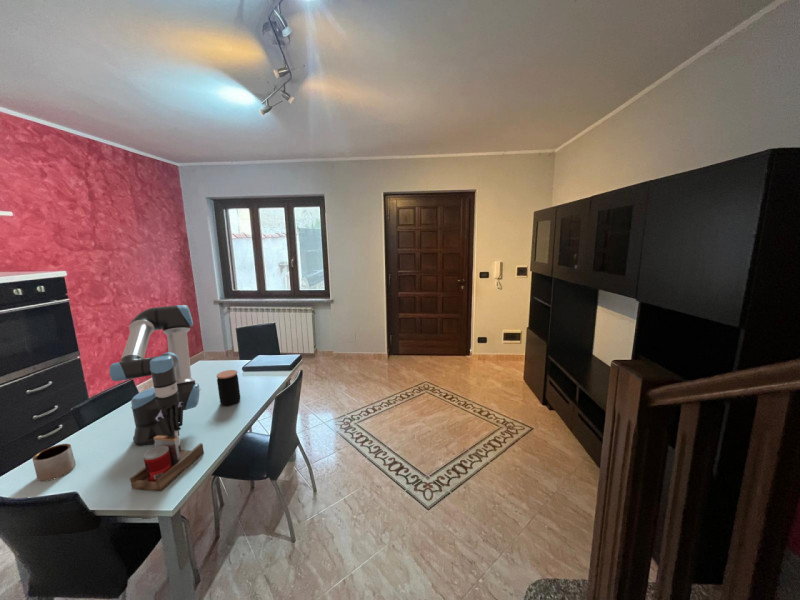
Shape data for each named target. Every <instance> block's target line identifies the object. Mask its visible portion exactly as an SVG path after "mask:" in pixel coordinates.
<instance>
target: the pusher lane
mask: <svg viewBox="0 0 800 600" xmlns="http://www.w3.org/2000/svg"><path fill="white" fill-rule="evenodd" d="M178 448H179V454H180V461H178V462H177V463H176V464H175V465H174V466H173V467H171V468H170V469H169V470H168V471H167V472H165V473H164V474H163V475H162V476H161V477H160V478H158V479H157V480H156V482H153V481H149V480H148V477H147V472H146V467H145V466H143V468H140V470H139V471H137V472H136V473H135V474H133V475H132V476H131V477H130V479H129V480H130V485H131V489H132V490H139V491H151V492H160V493H161V492H163V491H164V490H165V489H166V488H167V487H168V486H169V485H170V484H172V483H173V481H175V480H176V479H177V478H178V477H179V476H180V475H181V474H183V473H184V471H186V470H187V469H188V468H189V467H191V465H193V464H194V463H195V461H197V460H198V459H199V458H200V457H202V456H203V454H205V451H204V445H203V443H201V442H200V443H198V444H197V445H196V446H195V447H194V448H192V449H191V450H189V449H188V450H187V449H182V446H181V444H180V445H179V446H178Z"/></svg>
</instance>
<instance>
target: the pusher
mask: <svg viewBox="0 0 800 600" xmlns="http://www.w3.org/2000/svg"><path fill="white" fill-rule="evenodd" d="M154 441H155V443H154V445H155V447H158V446H163V445H165V446H168V448H169V452H170V458H171V463H172V467H173V466H174V465H175V464H176V463H177V462H178V461H180V454H179V448H178V442H177V437H175V436H159V435H157V436H155V437H154Z"/></svg>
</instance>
